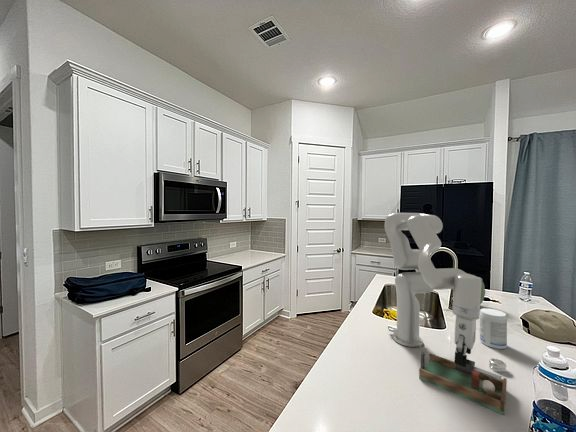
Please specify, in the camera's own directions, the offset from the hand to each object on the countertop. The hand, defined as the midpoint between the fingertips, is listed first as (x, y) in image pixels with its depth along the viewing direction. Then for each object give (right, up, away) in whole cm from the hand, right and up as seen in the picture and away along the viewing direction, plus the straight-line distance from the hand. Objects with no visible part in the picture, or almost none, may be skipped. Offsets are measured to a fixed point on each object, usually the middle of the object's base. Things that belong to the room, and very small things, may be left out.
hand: (462, 358), depth 86 cm
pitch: (-1, -9, 0) cm, 9 cm away
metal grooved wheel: (+19, -9, +8) cm, 23 cm away
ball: (+5, -6, -5) cm, 9 cm away
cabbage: (+55, -8, +72) cm, 90 cm away
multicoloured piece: (+3, -8, -3) cm, 9 cm away
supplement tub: (+32, -9, +26) cm, 43 cm away
